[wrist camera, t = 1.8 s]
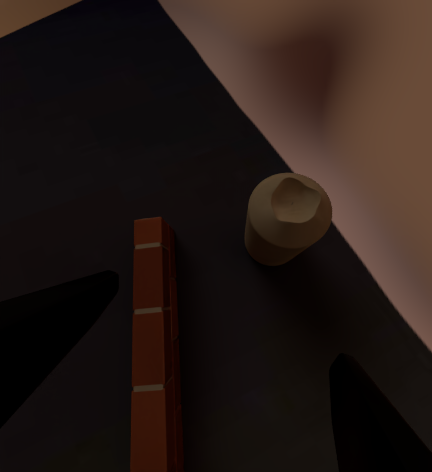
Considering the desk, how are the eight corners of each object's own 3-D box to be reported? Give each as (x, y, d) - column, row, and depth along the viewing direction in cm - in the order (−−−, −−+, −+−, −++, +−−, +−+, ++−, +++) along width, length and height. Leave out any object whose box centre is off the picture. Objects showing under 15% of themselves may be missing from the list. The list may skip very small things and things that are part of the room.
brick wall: (184, 478, 18) (168, 535, 14) (154, 480, 18) (128, 536, 14) (174, 230, 24) (161, 216, 20) (151, 233, 24) (134, 219, 20)
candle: (240, 220, 24) (242, 167, 14) (290, 212, 23) (328, 153, 14) (249, 270, 22) (258, 249, 12) (303, 262, 22) (355, 234, 12)
